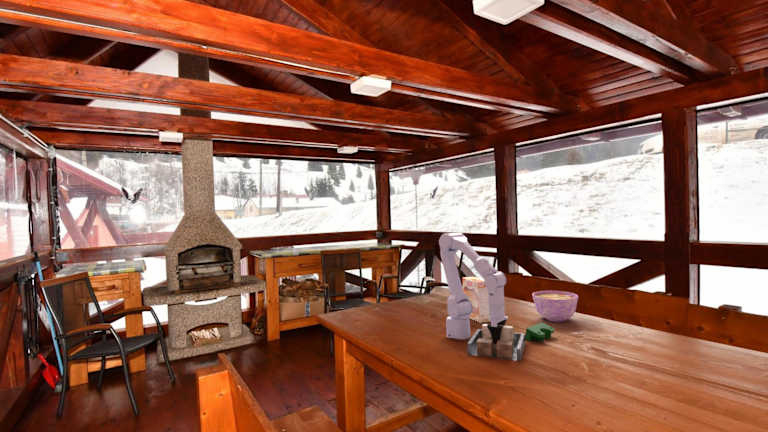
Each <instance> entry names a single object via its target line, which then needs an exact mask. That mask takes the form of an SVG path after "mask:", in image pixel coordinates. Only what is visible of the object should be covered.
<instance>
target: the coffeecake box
mask: <svg viewBox="0 0 768 432" xmlns="http://www.w3.org/2000/svg"><path fill="white" fill-rule="evenodd" d="M461 281H462V282H461V285H462V289H463V292H464V293H465V294H466V295H467V296H468V297H469V300H470V302H471V303H472V305H473V311H472V313H471V314H470V317H469V318H470V319H471V320H472V321H474V320H475V322H476V321H477V323H478V322H479V323H478V324H483V323H482V322H484V323H488V322H489V323H491V321H490V319H489V301H488V291H487V287H486V286H485V283H484V279H483V278H482V277H481V278H480V277H476V276H465V277H464V276H463V277H462V279H461Z"/></svg>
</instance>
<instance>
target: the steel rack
mask: <svg viewBox="0 0 768 432" xmlns="http://www.w3.org/2000/svg"><path fill="white" fill-rule="evenodd" d="M525 334H526V332H525V333H523V332H514V331H513V337H514V349H513V356H512V358H505V357H497V348H493V353H492V355H491V356H489V355H480V354H477V340H478V339H479V338H482V328H481V329H480V328H477V329H476V330H475V332H474V333H473V335H472V336H471V337H470V338H469V339H468V342H467V355H468V356H476V357H484V358H493V359H500V360H508V361H515V362H521V361H522V357H523V353H524V349H525V346H526V340H525Z"/></svg>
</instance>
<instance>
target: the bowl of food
mask: <svg viewBox="0 0 768 432" xmlns="http://www.w3.org/2000/svg"><path fill="white" fill-rule="evenodd" d="M531 295H532V299H533V301H534V306H535V309H536V311H537V313H538V315H540V316H541V317H542V318H544V319H546V320H547V321H550V322H555V323H556V322H557V323H559V322H564V321H566V320H568V319H571V318H572V317H573V316H574V315H575V312H576V310H577V304H578V300H579V296H578V294H576V293H573V292H569V291H561V290H540V291H536V292H535V291H533V293H532V294H531Z"/></svg>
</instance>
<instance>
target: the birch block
mask: <svg viewBox="0 0 768 432" xmlns="http://www.w3.org/2000/svg"><path fill="white" fill-rule="evenodd" d="M488 324H489V323H482V325H481V329H482V339H492V337H491V333H490V331H489V329H488V328H487V325H488ZM499 326H503V325H499ZM513 332H514V325H505V326H503V328H502V331H501V337H500V340H501V341H511V342H513V349H514V337H513ZM493 348H497V344H493Z"/></svg>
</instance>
